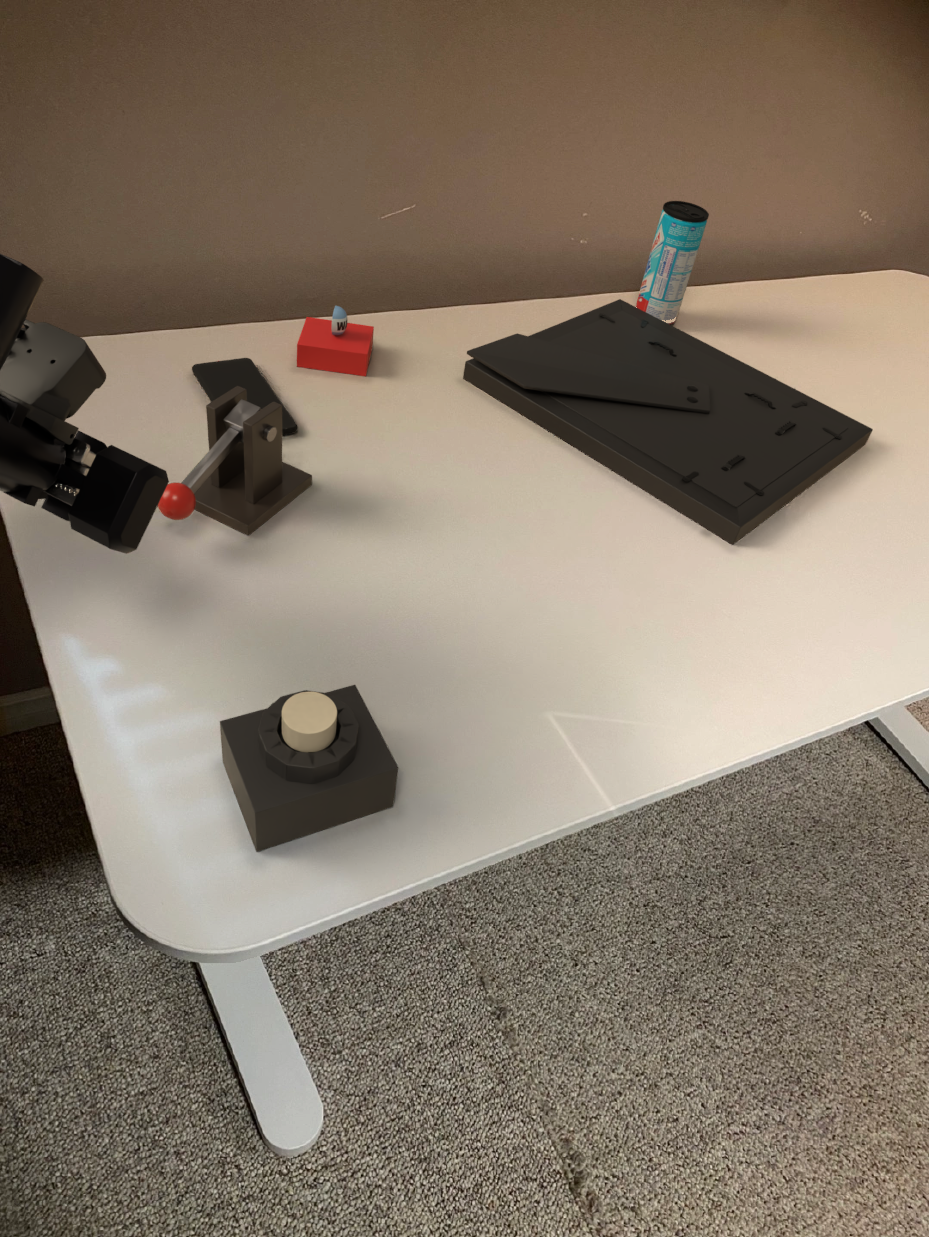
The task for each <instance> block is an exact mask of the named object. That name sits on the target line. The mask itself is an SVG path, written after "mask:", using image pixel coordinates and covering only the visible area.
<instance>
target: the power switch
mask: <svg viewBox="0 0 929 1237" xmlns="http://www.w3.org/2000/svg"><path fill="white" fill-rule="evenodd" d="M260 410H261V408H260V407H258V406H256V405H254V404H251V403H249V402H247V401H245V400H242V399H241V400H240V401H239V402H238V404H237V405H236V406H235V407H234V408H233V409H232V410H231V411H230V413H229V414H228V415H227V416H226V417H225V418H224V423H225V426H226V428H227V431H226V432H225V433H224V434H223V436H222V437H221V438H220V439H219V440H218V441H217V442H216V444H215V445H214V446H213V447H212V448H211V449H210V450H209V449H208V451H207V452H206V454H204V456H203V457H202V458H201V459H200V460H199V462H198V463H197V464H196V465H194V468H192V470H190V472H189V473H188V474H187V475H186V477H184V478H183V479H182V481H181V482H170V483H168V485H167V487H166V489H165V491H164V493H163V495H162V497H161V499H160V501H159V503H158V506H157V508H158V510H159V512H160V513H161V515H163V516H164V517H165V518H167V519H170V520H172V521H181V520H184V519H187V518H189V517H190V516H191V515H192V514H193V513H194V511H195V510H194V509H195V505H196V498H195V495H194V494H195V493H196V491H197V490H198V489H199V488H200V487H201V486H202V484H203V483H204V482H205V481H206V480H207V479H208V477H209V476H210V475H211V474H212V473H213V472H214V471H215V469H216V468H217V467H218V466H219V465H220V464H221V462H222V461H223V460H224V459H225V458H226V457H227V455H228V454H229V453H230V452H231V451H232V450H233V449H234V447H235V446H236V445H237V444H238V443H239V442H242V443H244V440H243V422H244V421H245V420H247V419H248V418H250V417H251V416H253V415H254V414H255V413H257V412H258V411H260Z"/></svg>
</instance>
